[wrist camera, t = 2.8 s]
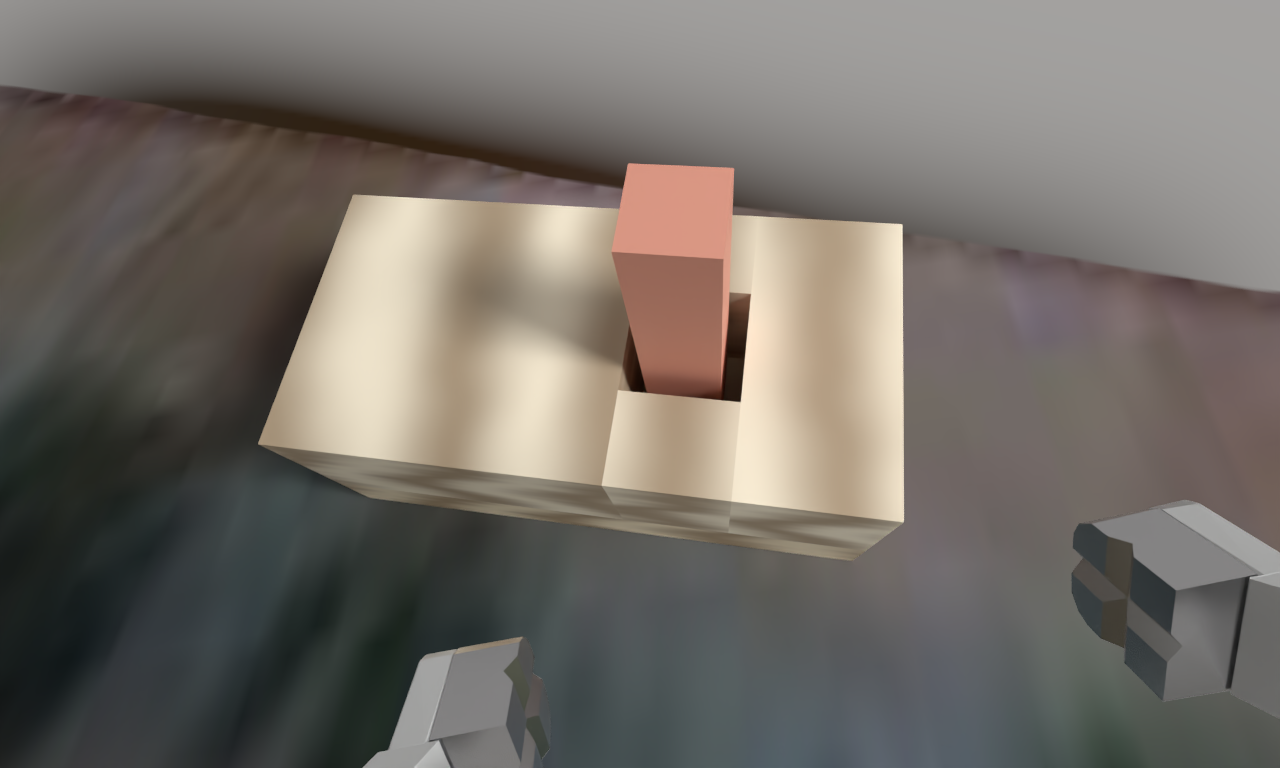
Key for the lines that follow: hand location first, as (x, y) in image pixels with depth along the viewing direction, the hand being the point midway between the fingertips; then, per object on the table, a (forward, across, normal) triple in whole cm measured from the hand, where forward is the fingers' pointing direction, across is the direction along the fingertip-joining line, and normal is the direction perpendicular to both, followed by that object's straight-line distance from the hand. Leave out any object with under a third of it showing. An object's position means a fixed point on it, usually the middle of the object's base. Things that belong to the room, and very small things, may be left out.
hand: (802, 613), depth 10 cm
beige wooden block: (+24, +4, +6) cm, 25 cm away
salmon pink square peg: (+21, 0, +5) cm, 21 cm away
